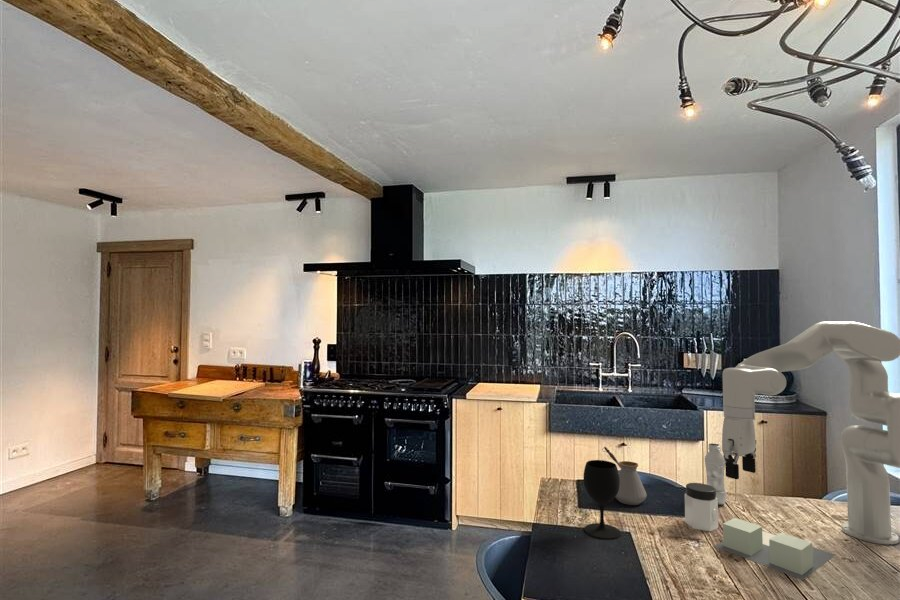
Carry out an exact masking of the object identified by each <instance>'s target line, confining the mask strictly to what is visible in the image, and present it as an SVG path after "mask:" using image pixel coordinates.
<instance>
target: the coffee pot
mask: <svg viewBox="0 0 900 600" xmlns="http://www.w3.org/2000/svg"><path fill="white" fill-rule="evenodd" d="M601 450H602V452H606V453H607V454H608V455H609V457H610V458H611V459H612V460H613V462H615V464H616V465H617V467H619V468H620V470H619V471H618V473H619V478H620V486H619V491H618V493H617V495H616V496H615V498H614V499H616V500H617V501H618V502H619V503H621V504H624V505H630V506H637V505H641V504H642V502H643V501H645V500H646V499H647V495H648V494H647V491H646V489H645V487H644V485H643V482H642V481H641V478H640V476H639V473H638V471H637V468H638V467H639V464H638V463H637V462H634V461H626V460H625V461H618V459H617V457H615V456H614V454H613V453H612V452H611V451H610V450H609V449H608V448H607V447H606V446H604V447H603V448H602V449H601Z"/></svg>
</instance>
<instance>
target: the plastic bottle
mask: <svg viewBox="0 0 900 600" xmlns="http://www.w3.org/2000/svg"><path fill="white" fill-rule="evenodd" d="M721 451H722V448H721V444H718V443H708V452H707V453H706V454H705V456H704V465H705V471H706V473H705V474H706V485H710V486H712V487H714V488H715V490H716V498H717V499H718V506H720V505H725V503H727V498H728V497H727V493H726V488H725V486H726V485H725V471H726V469H725V461H724V457H723V453H721Z"/></svg>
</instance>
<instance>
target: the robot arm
mask: <svg viewBox="0 0 900 600" xmlns="http://www.w3.org/2000/svg"><path fill="white" fill-rule="evenodd" d="M833 352H834V353H835V354H836V355H837V356H838V357H840V359H841V361H843V363H845V365H846V367H847V368H848V372H849V396H848V397H849V398H848V399H849V400H848V407H849V408H848V410H849V413H850V415H851V416H852V417H853V418H855V419H856V420H859V421H862V422H867V423H871V424H878V425H882V426H886V427H887V428H886V429H887V430H885V429H883V428H882V429H881V428H877V427H872V426H867V425H861V424H859V425H858V424H857V425H856V424H855V425H849V426H847V427H845V428H844V429H843V430H842V431H841V434H840V446H841V449H842V453H843V456H844V460H845V461H844V462H845V471H846V472H845V473H846V497H847V522H844V523H842V524H841V530H842V531H843V532H844V533H846V534H847V535H849V536H850V537H853V538H856V539H858V540H862V541H865V542H869V543H873V544H877V545H878V544H879V545H889V544H891V545H896V544H898V543H899V542H900V536H899V535H897V534H896V533H895V532H893V531H892V514H891V512H892V511H891V492H890V491H891V490H890V489H891V488H890V477H889V474H888V471H887V469H886V468H885V465H886V466H889V467H894V468H898V469H900V393H896V392H889V377H888V376H889V375H888V372H887V370H886V367H885V366H884V365H883V364H882V363H881V362H891V361H894V360H896V359H898V358H899V357H900V338H899V337H898V336H897V334H895V333H893V332H892V331H888V330H886V329H881V328H878V327H874V326H871V325H868V324H865V323H861V322H858V321H857V322H856V321H846V320H845V321H837V320H836V321H820V322H817V323H814V324H813V325H811V326H810V327H808V328H807V329H805V330H804V331H803V332H801V333H799V334H798V335H796V336H795V337H794V338H791V340H788V342H785V343H784V344H780V345H778V346H774V347H771V348H769V349H765V350H763V351H759V352H757V353H755V354H753V355H751V356H749V357H747V358H745V359H744V360H743V361H741V362H740V363H738V364H737V365H736V366H735V367H727V368H724V369H723V371H722V398H723V400H722V401H723V402H722V403H723V404H722V405H723V407H722V409H723V423H722V433H721V451H722V456H723V457H724V461H725V477H727V478H730V479H733V480H740V470H739V469H740V465H739V464H738V461H739V459H740V457H741V459H742V461H741V462H742V463H741V464H742V466H741V467H742V471H744V472H749V473H751V474H754V473H756V470H757V469H756V467H757V466H756V457H757V455H756V451H757V439H756V429H755V428H756V427H755V423H754V421H755V420H756V408H755V403H756V402H755V395H756V394H758V395H765V396H773V395H774V396H775V395H779V394H780V393H782V392H783V391H784V390H785V388H786V387H787V378H786V376H785V375H784V374H783V373H785V372H793V371H800V370H804V369H808V368H811V367H812V366H813V365H815V364H816V363H817V362H819V361H820V360H821V359H823V358H824V357H825V358H826V356H828V355H829V354H830V353H833ZM782 372H783V373H782Z"/></svg>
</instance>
